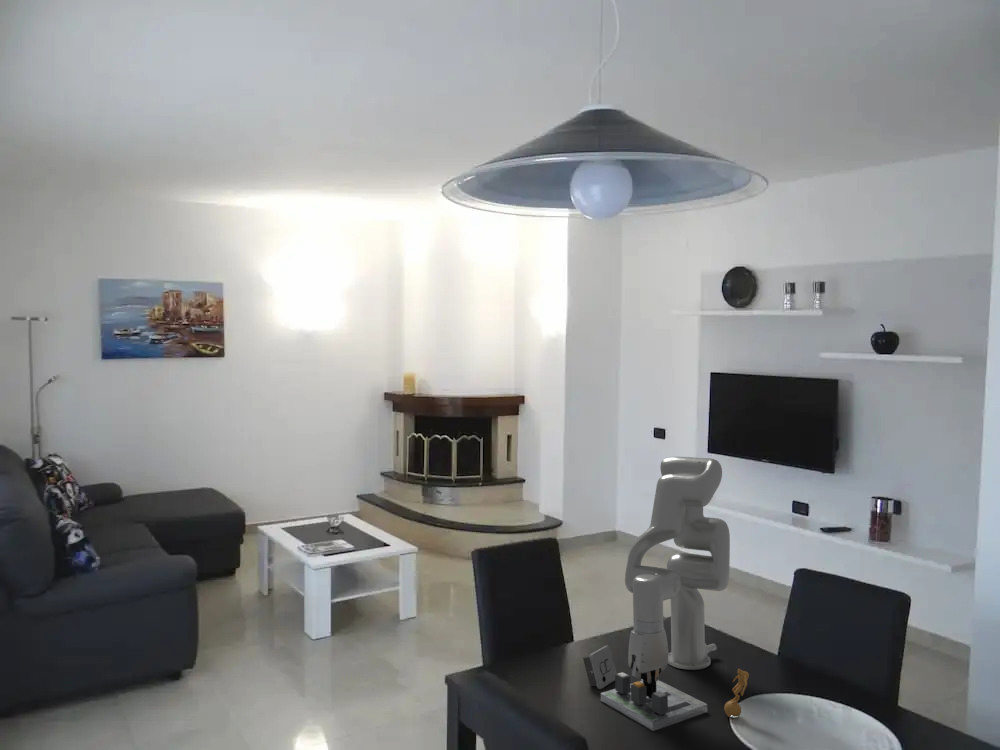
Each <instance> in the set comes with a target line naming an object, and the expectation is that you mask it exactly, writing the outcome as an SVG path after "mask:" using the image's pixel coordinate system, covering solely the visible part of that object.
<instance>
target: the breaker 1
mask: <svg viewBox="0 0 1000 750" xmlns="http://www.w3.org/2000/svg"><path fill="white" fill-rule="evenodd" d="M614 682H615V683H614V684H615V685H614V686H615V688H614V689H615V690H616V691H618V692H620V693H622V694H625V693H629V692H630V684H631V676H630V675H629V674H627V673H625V672H623V671H622V672H619V673H617V674H616V675H615V680H614Z"/></svg>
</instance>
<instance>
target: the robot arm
mask: <svg viewBox="0 0 1000 750" xmlns="http://www.w3.org/2000/svg"><path fill="white" fill-rule="evenodd" d="M659 467H660V474H661V476H660V478H658V479H657V482H656V487H655V495H654V500H653V507H652V513H651V517H650V518H651V519H650V525H649V527H648V528H647V529H646V530H645V531H644V532H643V533H641V535H639V537H637V539H636V540H635V542H634V543H633V545H632V546H631V548H630V550H629V553H628V557H627V563H626V567H625V574H624V576H625V577H624V584H625V587H626V589H627V591H628V592H629V593H632V607H633V608H632V610H633V611H632V612H633V613H632V614H633V616H632V618H633V629H632V630H631V631H630V635H629V640H628V641H629V642H628V651H627V652H628V653H627V654H628V657H627V661H628V662H627V664H628V668H629V669H632V671H631V676H632V677H633V678H635V679H640V681H642V680H643V684H644V685H645V686H646V690H647V696H648V697H649V698H652V693H655V692H656V681H658V680H659V676H660V674H661V672H662V671H664V670H666V669H667V665H670V666H671V667H674V668H675V669H676V668H677V669H682V670H687V671H690V670H691V671H697V670H703V669H706V668H709V666H710V665H711V663H712V662H711V657H710V656H709V655H708V654H709V653H710V652H713V651H716V650H717V645H716V644H715V643H711V644H708V645H707V643H706V641H705V640H706V638H705V637H706V636H705V634H706V633H705V625H706V623H705V601H704V598H703V596H702V594H701V592H700V591H699V590H704V591H705V590H706V591H715V592H721V591H724V590H726V589H727V587H728V586H729V582H730V581H729V580H730V560H731V559H730V557H731V555H730V553H731V551H730V550H731V549H730V548H731V543H730V542H731V540H730V539H731V537H730V530H729V525H728V524H727V522H726V521H725V520H723V519H721V518H717V517H707V516H704V507H706V506H707V505H709V503H710V502H711V501H712V498H713V497H714V495H715V493H716V492H717V490H718V488H719V486H720V485H721V481H722V479H723V478H722V477H723V468H722V465H721V463H720V462H719V460H717V459H715V458H709V457H708V458H707V457H690V456H669V457H665V458H663V459H662V461H661V462H660V465H659ZM670 540H673V542H674V544H675V545H676V546H677V547H678V548H681V549H687V550H696V551H705V552H709V553H710V555H704V554H703V555H702V554H696V553H688V552H685V553H684V552H680V553H679V552H678V553H674V554H672V555H671V556H669V558H668V560H667V562H666V568H665V567H664V568H663V567H656V566H649V565H642V561H643V558H644V556H645V554H646V553H647V552H648V551H649V550H650V549H651V548H653V547H655V546H656V545H658V544H661V543H664V542H667V541H670ZM666 600H670V634H671V636H670V637H671V639H670V641H671V642H670V643H671V651H670V652H669V645H668V637H667V632H666V629H665V625H664V622H665V621H666V616H664V601H666Z"/></svg>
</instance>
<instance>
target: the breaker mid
mask: <svg viewBox="0 0 1000 750" xmlns="http://www.w3.org/2000/svg"><path fill="white" fill-rule="evenodd" d="M639 681H640V680H638V681H637V680H636V681H635V682H633V684H632V683H630V684H631V701H633V702H635V703H637V704H638V705H640V704H643V703H646V702H647V690H646V686H645V685H644V684H643V683H641V682H639Z"/></svg>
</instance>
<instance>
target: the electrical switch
mask: <svg viewBox="0 0 1000 750" xmlns="http://www.w3.org/2000/svg"><path fill="white" fill-rule="evenodd" d="M582 659H583V663H584V668H585V671H586V672H585V673H586V676H587V679H588V683H589V687H596V688H597V689H598V690H601V689H604V688H605V687H606V686H608V685H610V684H611V683H613V682H615V675H616V674H618V673H617V670H616V666H615V663H614V658H613V654H612V650H611V647H610V646H609V645H604V646H603V647H601V648H599V649H595V650H594V651H591V652H590V653H588V654H587V655H585V656H583V658H582Z"/></svg>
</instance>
